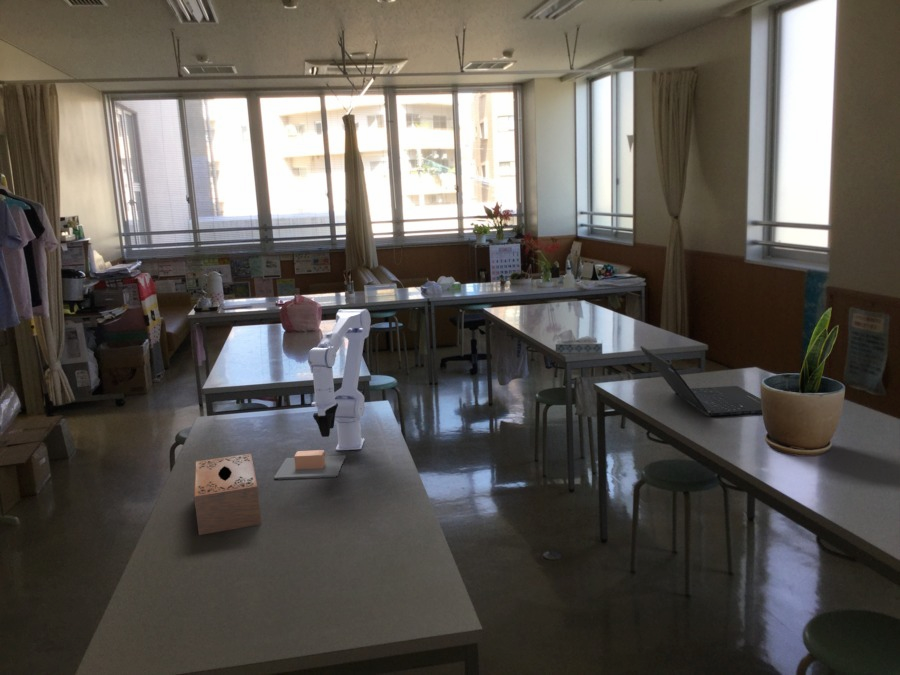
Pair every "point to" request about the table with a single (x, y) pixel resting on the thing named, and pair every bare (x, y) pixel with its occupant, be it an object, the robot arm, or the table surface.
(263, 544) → the table surface
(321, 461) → the light orange rectangular block
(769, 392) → the potted plant
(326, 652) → the table surface
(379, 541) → the table surface
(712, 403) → the laptop
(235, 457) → the tissue box cover
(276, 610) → the table surface
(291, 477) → the mat
